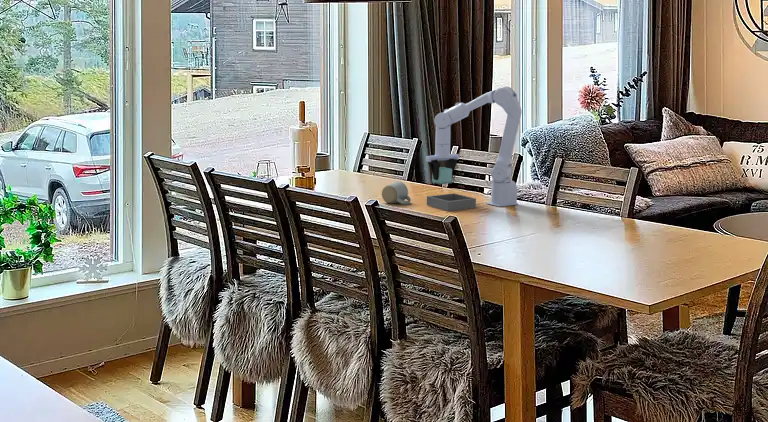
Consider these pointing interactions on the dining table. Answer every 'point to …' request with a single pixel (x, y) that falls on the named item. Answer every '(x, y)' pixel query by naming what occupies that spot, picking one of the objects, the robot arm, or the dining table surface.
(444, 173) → the small crate
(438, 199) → the big crate
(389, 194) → the ceramic mug
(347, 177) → the dining table surface
